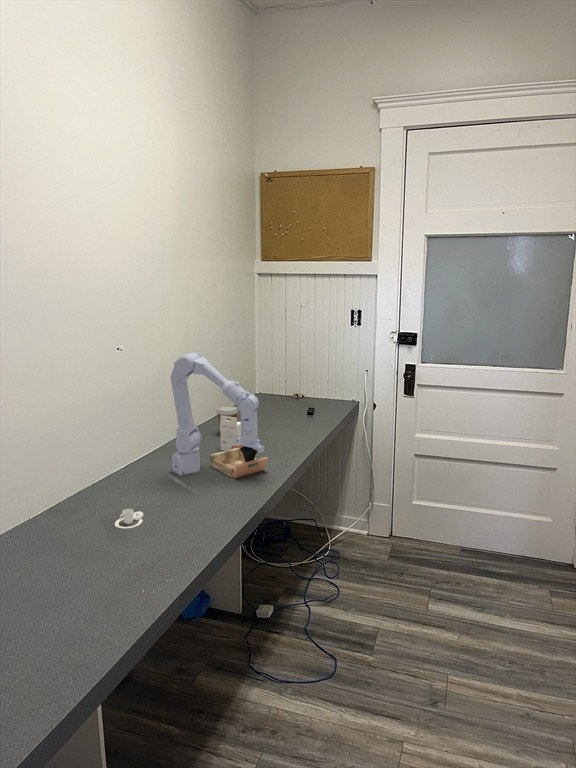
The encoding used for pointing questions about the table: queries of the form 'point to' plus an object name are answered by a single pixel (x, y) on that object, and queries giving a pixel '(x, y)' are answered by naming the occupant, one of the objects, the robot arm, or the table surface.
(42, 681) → the table surface
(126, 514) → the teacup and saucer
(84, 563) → the table surface
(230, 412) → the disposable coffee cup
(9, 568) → the table surface
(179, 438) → the robot arm
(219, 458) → the tray
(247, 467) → the panel
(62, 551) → the table surface
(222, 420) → the ink cartridge box
